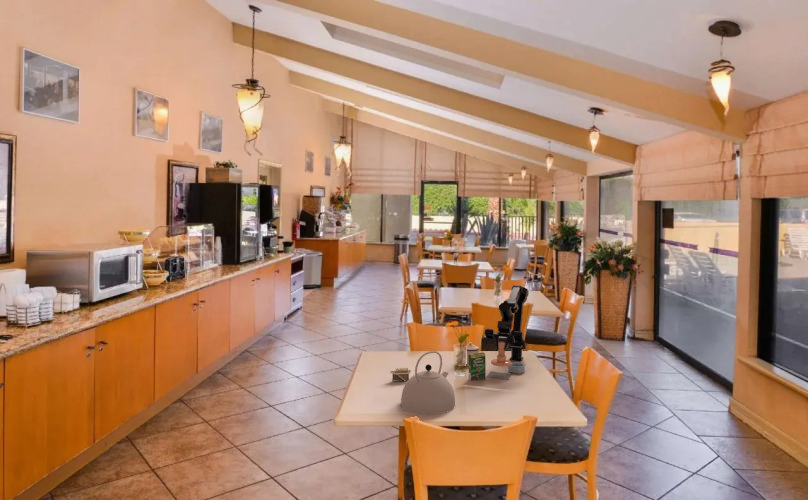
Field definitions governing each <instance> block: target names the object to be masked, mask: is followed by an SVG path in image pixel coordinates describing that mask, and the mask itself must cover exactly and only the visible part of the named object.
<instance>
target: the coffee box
mask: <svg viewBox="0 0 808 500" xmlns="http://www.w3.org/2000/svg"><path fill="white" fill-rule="evenodd" d="M468 357H469V365H468V380H469V381H483V380H486V376H487V375H486V373H487V370H486V368H487V367H486V364H487V363H486V353H485V352H479V353H474V354H469V356H468Z"/></svg>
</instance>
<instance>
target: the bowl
mask: <svg viewBox="0 0 808 500" xmlns="http://www.w3.org/2000/svg"><path fill="white" fill-rule="evenodd" d="M508 372H510V373H511V374H523V373H525V372H526V364H524V363H522V362H512V365H510V366H508Z"/></svg>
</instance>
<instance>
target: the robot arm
mask: <svg viewBox="0 0 808 500" xmlns="http://www.w3.org/2000/svg"><path fill="white" fill-rule="evenodd" d="M528 297H529V290H528V288H526V287H523V285H518V284H514V285H512V286H511V292H510V294H509V296H508V298H507V299H505V300H504V301H503V302H501V303H500V304H499V305H498V311H499V314H500V317H501V320H497V325H496V326H497V331H496V330H495V331H494V329H492V328H485V330H484V332H483V333H484V335H485V336H484V337H485V339H487V340H493V341H495V346H496V350H497V351H498V342H501V340H500V338H506V342H505V347H504V351H505V352H507V350H508V349H511V350H510V353H511V355H510V358H509V361H519V362H521V361H523V359H524V357H523V350H526V349H527V348H526V345H527V344H526V340H525V338H524V336H525V335H524V333H523V332H522V327H523V326H522V324H523V314H524V304H525V303H526V302H527V300H528Z"/></svg>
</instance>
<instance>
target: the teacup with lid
mask: <svg viewBox="0 0 808 500" xmlns="http://www.w3.org/2000/svg"><path fill="white" fill-rule="evenodd" d="M466 345H467V365H466V366H469V357H468V356H469V354H474V353H480V352H479V351H480V348H479V346H478V345H477V346H476V345H475V344H473V342H471V341H470V342H467V344H466Z"/></svg>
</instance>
